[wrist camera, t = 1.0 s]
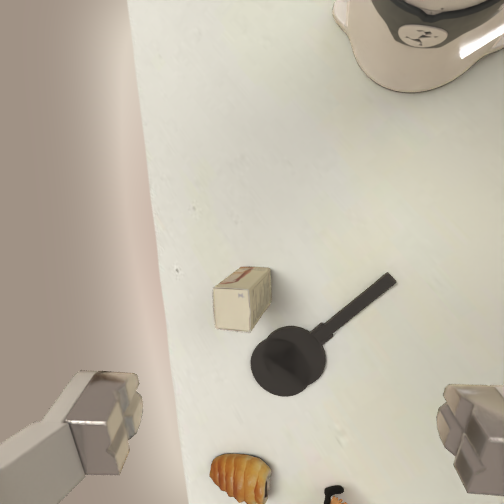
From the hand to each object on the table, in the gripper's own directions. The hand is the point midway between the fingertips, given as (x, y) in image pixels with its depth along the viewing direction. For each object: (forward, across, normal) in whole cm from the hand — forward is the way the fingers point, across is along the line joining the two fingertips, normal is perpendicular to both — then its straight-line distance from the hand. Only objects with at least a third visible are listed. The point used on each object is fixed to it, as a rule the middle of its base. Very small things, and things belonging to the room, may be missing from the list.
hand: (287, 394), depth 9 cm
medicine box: (+34, +2, +16) cm, 37 cm away
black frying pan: (+30, -6, +21) cm, 37 cm away
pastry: (+27, +3, +45) cm, 52 cm away
